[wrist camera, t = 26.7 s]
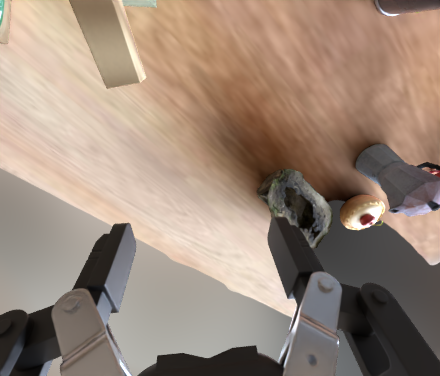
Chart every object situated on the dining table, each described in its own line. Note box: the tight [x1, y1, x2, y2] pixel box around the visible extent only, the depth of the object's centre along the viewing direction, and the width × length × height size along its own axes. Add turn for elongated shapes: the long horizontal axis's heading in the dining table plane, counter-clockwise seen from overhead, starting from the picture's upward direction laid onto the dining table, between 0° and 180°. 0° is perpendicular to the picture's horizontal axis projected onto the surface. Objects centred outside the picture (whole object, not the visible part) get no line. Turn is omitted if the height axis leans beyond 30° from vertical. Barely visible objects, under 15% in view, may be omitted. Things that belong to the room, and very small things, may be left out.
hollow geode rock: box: [257, 169, 333, 249], centre depth 56 cm, size 28×13×15 cm
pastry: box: [340, 195, 385, 230], centre depth 62 cm, size 12×12×9 cm
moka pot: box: [356, 144, 440, 216], centre depth 48 cm, size 10×15×20 cm, turn 126°
